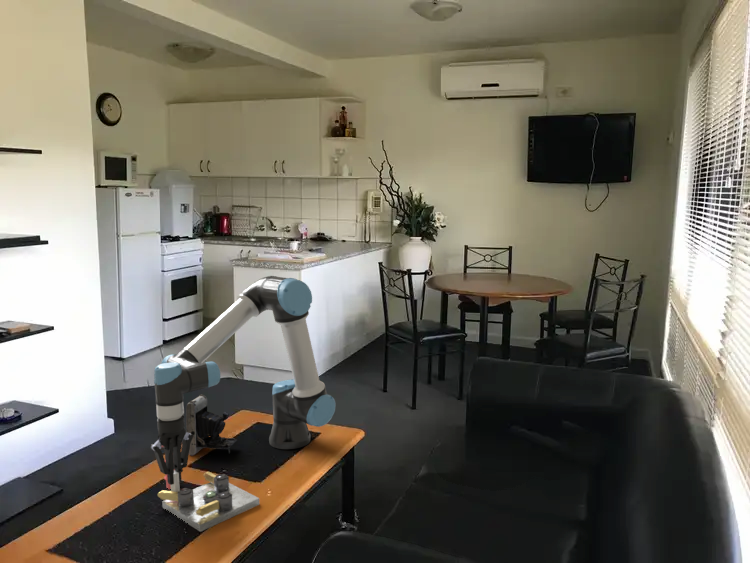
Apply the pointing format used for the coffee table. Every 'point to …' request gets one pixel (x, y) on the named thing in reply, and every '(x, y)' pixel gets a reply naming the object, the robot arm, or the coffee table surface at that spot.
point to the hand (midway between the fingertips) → (175, 492)
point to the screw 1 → (178, 496)
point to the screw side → (217, 504)
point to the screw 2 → (218, 481)
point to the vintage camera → (205, 427)
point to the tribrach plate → (206, 495)
